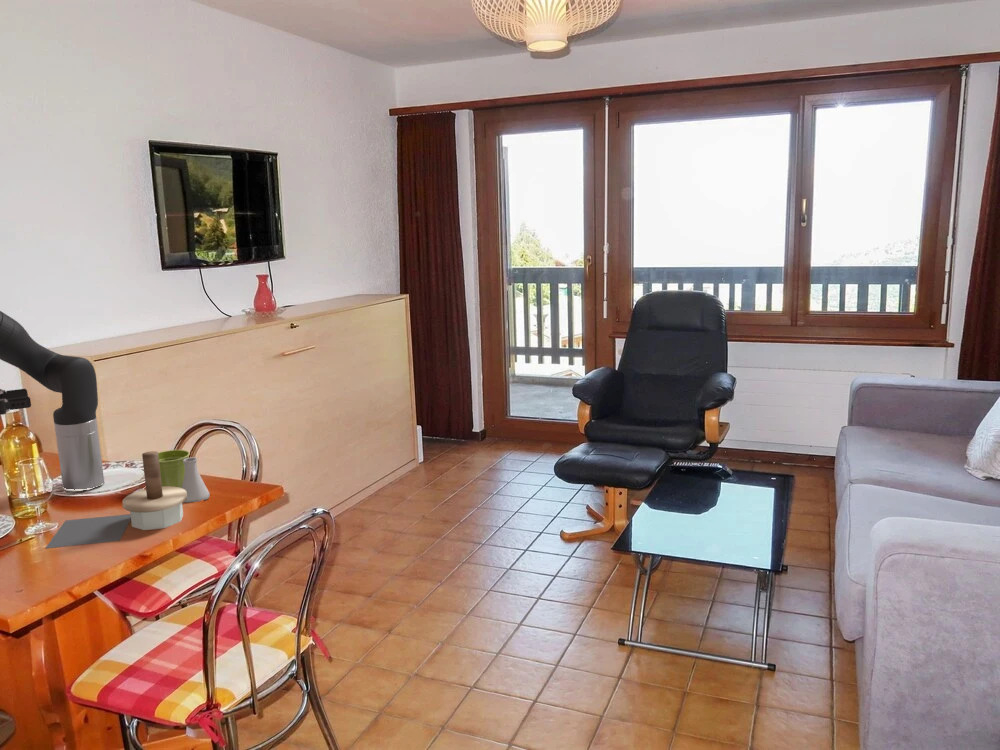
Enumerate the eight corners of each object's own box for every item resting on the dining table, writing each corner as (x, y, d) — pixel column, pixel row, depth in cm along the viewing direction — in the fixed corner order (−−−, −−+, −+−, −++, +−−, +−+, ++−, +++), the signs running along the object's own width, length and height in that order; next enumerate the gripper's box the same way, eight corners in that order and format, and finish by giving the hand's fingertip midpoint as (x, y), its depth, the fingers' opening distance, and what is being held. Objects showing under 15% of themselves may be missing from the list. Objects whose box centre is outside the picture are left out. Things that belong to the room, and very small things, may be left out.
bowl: (138, 516, 177) (135, 495, 176) (185, 511, 179) (183, 490, 178) (129, 533, 167) (126, 511, 166) (179, 528, 170) (176, 506, 168)
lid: (129, 493, 177) (124, 447, 174) (190, 488, 180) (186, 442, 177) (117, 515, 164) (110, 465, 162) (182, 508, 167) (177, 460, 165)
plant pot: (143, 491, 192) (139, 458, 190) (174, 479, 200) (171, 447, 198) (170, 497, 188) (167, 463, 186) (201, 485, 196) (198, 452, 194)
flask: (186, 493, 191) (182, 454, 189) (215, 493, 190) (211, 454, 188) (172, 504, 184) (167, 463, 181) (201, 505, 183) (197, 464, 181)
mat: (65, 522, 173) (65, 520, 173) (133, 515, 177) (133, 513, 177) (45, 550, 159) (45, 548, 159) (119, 542, 163) (119, 540, 162)
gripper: (-71, 398, 146) (29, 386, 155) (-69, 384, 158) (24, 374, 167) (-64, 436, 148) (34, 422, 157) (-63, 420, 160) (28, 408, 168)
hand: (29, 397), depth 162 cm, fingers open, 8 cm apart
